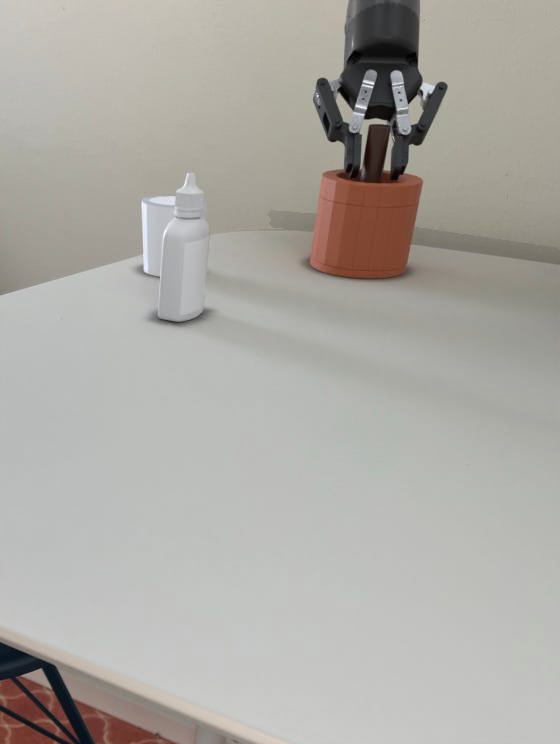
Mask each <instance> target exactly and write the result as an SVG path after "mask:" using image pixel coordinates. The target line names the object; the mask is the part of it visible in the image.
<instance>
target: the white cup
mask: <svg viewBox="0 0 560 744" xmlns="http://www.w3.org/2000/svg"><path fill="white" fill-rule="evenodd" d="M175 197H176V194H156V195H155V194H154V195H150V196H145V197H143V198H141V225H142V226H141V227H142V229H141V230H142V253H143V254H142V255H143V257H142V258H143V259H142V260H143V272H144V273H146V274H147V275H150V276H153V277H159V278H160V270H161V255H162V242H163V234H164V231H165V229H166V227H167V225H168V224H169V223H170V222H171V221H172V220H173V219H174V217H175V216H176V215H175V214H174V212H175ZM207 209H208V200H206V199H204V198H203V209H202V216H200V217H201V219H203V220H205V221H206V216H207Z"/></svg>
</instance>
